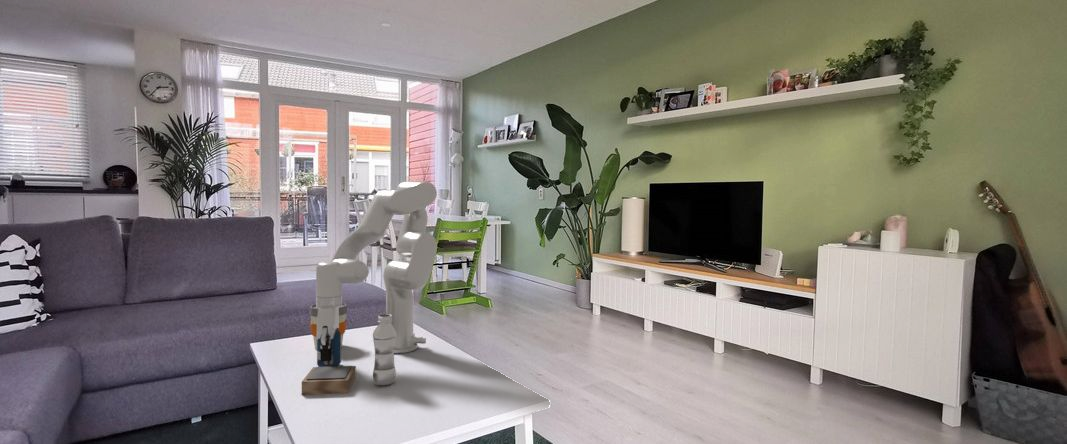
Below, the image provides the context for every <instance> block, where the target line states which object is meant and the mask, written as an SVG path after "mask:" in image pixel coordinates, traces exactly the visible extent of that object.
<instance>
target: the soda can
mask: <svg viewBox="0 0 1067 444" xmlns="http://www.w3.org/2000/svg"><path fill="white" fill-rule="evenodd" d="M321 336H322V335H321ZM329 337H330V336H327V337H326V338H329ZM326 341H328V343H329V340H326ZM320 347H321V338H320V339H319V340H318V339H317V350H316V366H317V367H330V366H340V364H341V361H342V359H341V357H342V356H341V355H342V354H341V351H342V349H341V348H342V347H341V334H340V332H339V328H338V329H337V330H336V331H335V335H334V338H333V339H331V348H332V360H331V361H320Z"/></svg>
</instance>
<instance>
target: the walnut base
mask: <svg viewBox="0 0 1067 444" xmlns="http://www.w3.org/2000/svg"><path fill="white" fill-rule="evenodd" d="M356 366H357V365H341V366H340V365H339V366H330V367H318V366H313V367H312V368H311V369H310V371H309V372H308V373H307V374H306V376H305V377H304V378H303V379H302V380H301V396H303V395H304V396H305V395H306V396H308V395H324V394H325V395H330V394H331V395H332V394H334V395H335V394H348V393H349V391H350V390H351V388H352V386H353V384H354V382H355V379H356V377H357V374H356V373H357V372H356V371H357V370H356V369H357V367H356Z"/></svg>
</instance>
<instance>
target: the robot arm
mask: <svg viewBox="0 0 1067 444" xmlns="http://www.w3.org/2000/svg"><path fill="white" fill-rule="evenodd" d="M437 196H438V192H437V188H436V186H435V185H434V184H433V183H431V182H430V181H426V180H424V181H423V180H422V181H421V180H418V181H417V180H408V181H403V182H400V183H399V184H398V185H397V187H396V189H382V190H379V191H377V192H376V193H375V195H374V196H373V198H372V199H371V202H370V204H369V205H368V208H367V209H366V212H365V214H364V215H363V217H362V219H361V222H360V223H359V225H358V226H357V227H356V228H355V229H354V231H352V232H351V233H350V234H349V235H348V236H347V237H346V238H345V239H344V240H343V241H342V243H340V245H339V247H338V248H337V250H336V252H335V253H334V256H333V257H332V259H331V261H321V262H319V263H318V264H316V269H315V271H316V272H315V273H316V274H315V276H316V277H315V280H316V281H315V304H316V307H318V316H317V334H316V338H317V339H318V340H319V339H320V338H321V347H320V361H331V360H332V348H331V339H333V338H334V335H335V331H336V330H337V329H338V328H339V306H341V305H342V303H343V293H342V292H343V288H342V287H343V285H344V284H350V285H351V284H352V285H353V284H359V283H362V282H364V281H365V280H367V278H368V277H369V272H370V271H369V267H368V265H367V264H366V263H365V262H363V261H361V260H358V259H356V258H357V256H358V255H360V253H361V251H363V250H364V249H365V248H366V247H369V246H370V245H372V244H375V243H377V242H378V241H380V240H382V238H383V236H384V235H385V233H386V231H387V229H388V227H389V225H390V223H391V221H392V219H393V217H394V216H403V220H402V224H401V227H400V230H399V233H398V237H397V241H396V245H395V249H396V252H397V253H398V255H400V256H402V257H403V258H404V257H405V258H408V259H409V258H410V260H403V259H393V260H392V261H390V262H388V263H387V264H386V265H385V266H384V270H383V274H382V275H383V282H384V288H385V314H389V315H391V320H392V322H390V323H391V325H392V326H393V327H394V329H395V332H396V338H395V345H394V354H405V353H409V352H412V351H413V352H414V351H415V350H417V349H418V347H419V346H418V345H419V344H421V345H422V344H423V345H424V344H427V337H423V336H418V337H417V336H415V335H416V334H415V333H414V305H415V303H414V302H415V301H414V293H413V291H418V290H423V288H424V287H425V286H426V285H427V283H428V281H429V279H430V276H431V273H432V269H433V266H434V263H435V260H436V255H437V251H438V250H437V249H438V245H437V239H436V238H435V237H434V236H433V234H431V233H429V232H426V229H427V225H428V218H429V217H428V212H427V210H426V208H427V207H429V206H430V205H432V204H433V203H434V202H435V201H436V198H437ZM342 284H343V285H342ZM321 335H322V336H321ZM327 336H330V337H329V338H326V337H327ZM326 340H329V343H328V341H326Z"/></svg>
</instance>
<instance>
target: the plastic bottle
mask: <svg viewBox="0 0 1067 444" xmlns="http://www.w3.org/2000/svg"><path fill="white" fill-rule="evenodd" d="M390 322H392V320H391V315H389V314H386V313H385V314H378V317H377V323H378V324H377V326H376V327H375V329H374V330H373V333H372V339H373V340H372V341H373V346H374V367H373V371H372V380H373V383H374V384H375V385H377V386H388V385H391V384H394V382H395V381H396V377H397V371H396V370H397V369H396V365H395V353H394V345H395V338H396V332H395V329H394V327H393V326H392V325H391V323H390Z"/></svg>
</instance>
